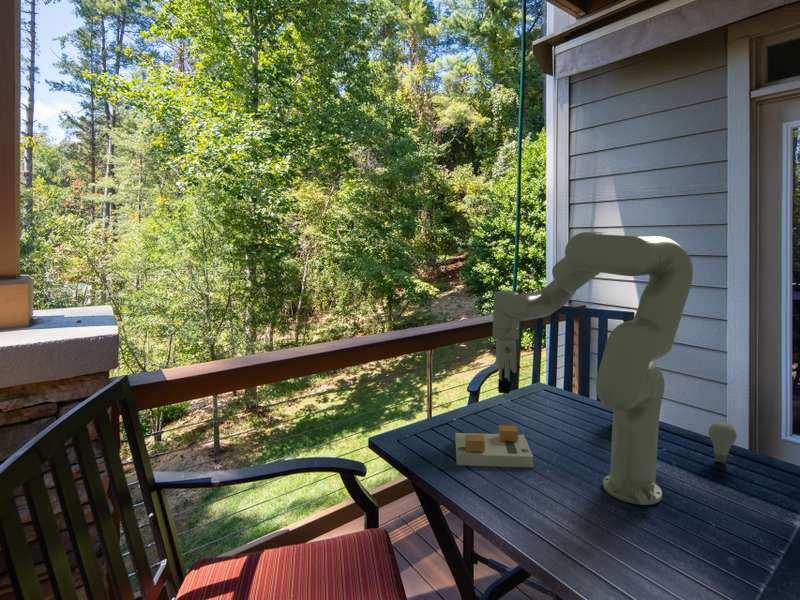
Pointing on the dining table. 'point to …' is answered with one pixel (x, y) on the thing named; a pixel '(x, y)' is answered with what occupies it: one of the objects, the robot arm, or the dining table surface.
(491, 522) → the dining table surface
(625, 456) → the robot arm
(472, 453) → the switch panel
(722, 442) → the lightbulb
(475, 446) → the left tab
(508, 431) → the right tab
